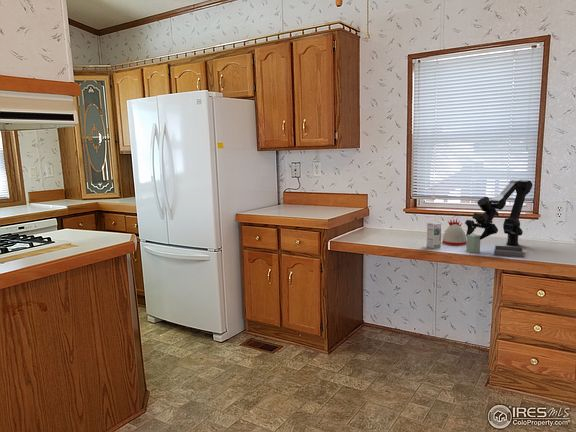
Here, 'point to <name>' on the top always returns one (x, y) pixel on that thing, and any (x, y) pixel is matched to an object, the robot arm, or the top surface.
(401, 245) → the top surface
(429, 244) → the syrup box
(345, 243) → the top surface
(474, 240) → the sage block
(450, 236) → the cream dome with spikes
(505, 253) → the tray
